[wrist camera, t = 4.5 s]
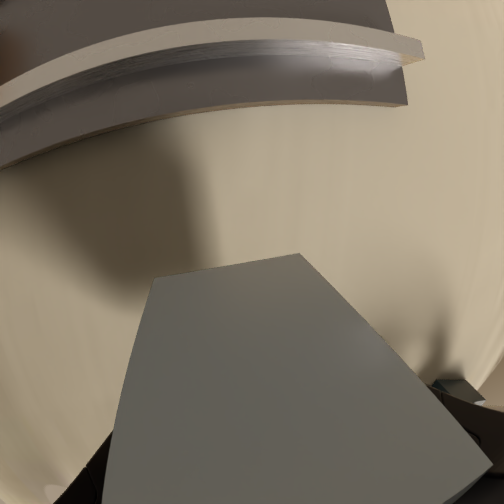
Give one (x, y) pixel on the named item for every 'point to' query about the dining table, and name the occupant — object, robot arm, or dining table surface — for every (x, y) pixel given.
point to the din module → (276, 400)
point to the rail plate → (185, 62)
